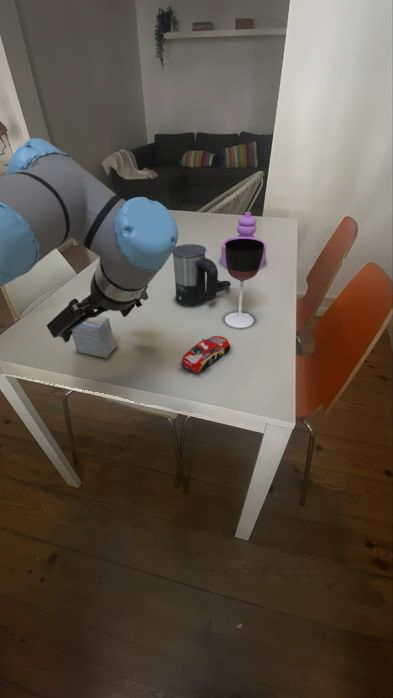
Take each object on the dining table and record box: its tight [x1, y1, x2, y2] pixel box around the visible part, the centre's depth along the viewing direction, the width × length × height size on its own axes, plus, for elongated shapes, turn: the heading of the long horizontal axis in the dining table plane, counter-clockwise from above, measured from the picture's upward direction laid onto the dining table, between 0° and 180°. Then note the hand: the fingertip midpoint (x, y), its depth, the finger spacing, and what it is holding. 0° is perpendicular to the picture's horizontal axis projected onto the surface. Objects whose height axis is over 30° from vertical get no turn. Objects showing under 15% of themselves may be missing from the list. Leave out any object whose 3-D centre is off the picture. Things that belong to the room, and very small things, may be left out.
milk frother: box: [171, 243, 232, 307], centre depth 90 cm, size 14×16×15 cm
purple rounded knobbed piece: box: [220, 211, 267, 269], centre depth 113 cm, size 25×15×13 cm, turn 169°
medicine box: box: [71, 315, 116, 359], centre depth 72 cm, size 8×4×9 cm, turn 71°
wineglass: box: [224, 239, 264, 329], centre depth 78 cm, size 8×9×20 cm
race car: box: [181, 335, 231, 374], centre depth 70 cm, size 13×5×4 cm, turn 137°
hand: (94, 323), depth 67 cm, fingers open, 13 cm apart
